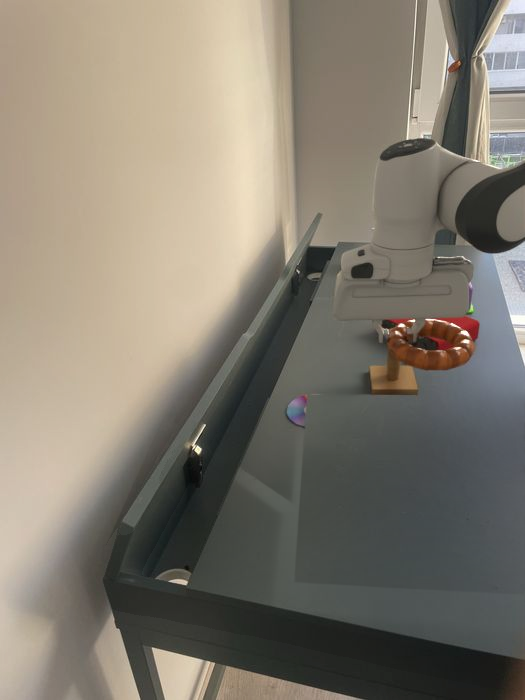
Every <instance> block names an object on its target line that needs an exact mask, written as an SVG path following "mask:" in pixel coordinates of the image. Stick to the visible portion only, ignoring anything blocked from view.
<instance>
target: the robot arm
mask: <svg viewBox="0 0 525 700" xmlns="http://www.w3.org/2000/svg"><path fill="white" fill-rule="evenodd" d="M371 211H372V215H373V220H374V225H373V228H374V231H373V233H372V232H371V239H370V241H371V242H370V243H367V244H364V245H361V246H358V247H356V248H352V249H349V250H346V251H344V252H343V253H342V255H341V258H340V270H339V272H338V273H337V275H336V278H335V282H334V287H333V294H332V295H333V297H332V315H333V317H334V318H335V319H336V320H338V321H372V326H373V327H374V329H375V330H376V332H377V333H378V343H379V344H387V343H389V339H388V338H389V332H388V329H383V328H382V326H381V325H382V320H383V319H415V323H414V324H413V326H412V327H411V328H406V334H405V338H406V342H416V338H417V333H418V332H419V331H420V330H421V329H422V327H423V326H424V325H425V319H426V318H461V317H463V316H466V315H467V314H466V313H467V312H468V310H469V285H468V284H469V283H471V282H472V280H473V277H474V270H475V266H474V264H473V262H472V261H471V260H469V259H467V258H465V257H464V256H451V257H449V256H448V257H447V256H434V252H435V240H436V235H437V233H438V232H439V231H441V230H448V231H450V232H452V233H454V234H456V235H458V236H459V237H461V238H462V239H463V240H465V241H466V242H467V243H469V244H470V245H471V246H472V247H473V248H475V249H476V250H477V251H480V252H482V253H484V254H490V255H491V254H494V255H496V254H502V253H506V252H509V251H512V250H513V249H515V248H517V247H519V246H520V245H522V244H523V243H524V242H525V157H524V158H523V159H522V160H520V162H518V163H516V164H513V165H510V166H508V167H502V168H500V167H496V166H494V165H490V164H488V163H486V162H482V161H479V160H477V159H472V158H469V157H464V156H462V155H459V154H456V153H455V152H452V151H450V150H448V149H446V148H444V147H443V146H441V145H439V143H438V142H437V141H435V140H434V139H432V138H427V137H418V138H408V139H405V140H401V141H398V142H395V143H393V144H391V145H389V146H388V147H386V148H385V149H384V150H383V151H382V152H381V154H380V155H379V157H378V159H377V163H376V166H375V171H374V179H373V187H372V204H371Z"/></svg>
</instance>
